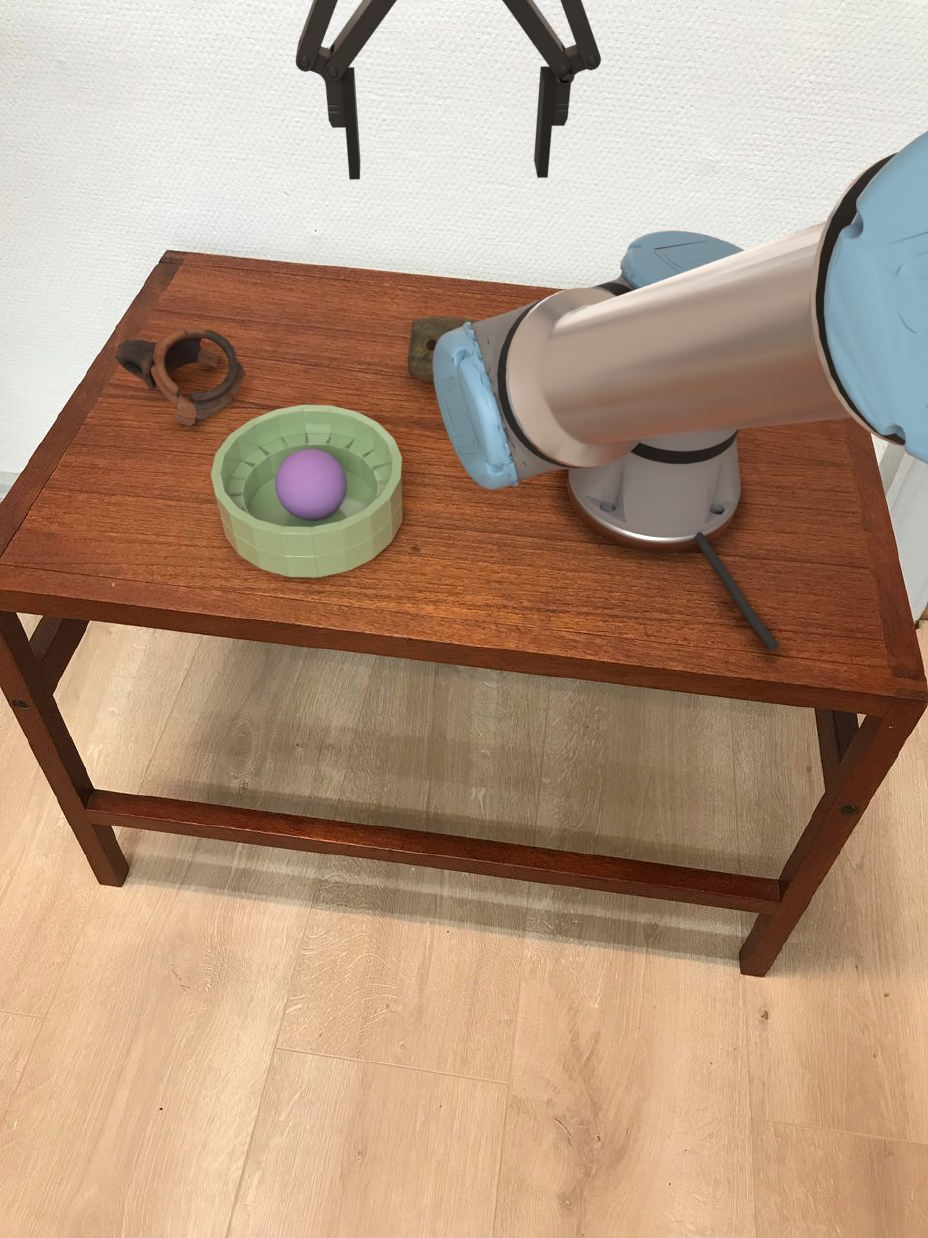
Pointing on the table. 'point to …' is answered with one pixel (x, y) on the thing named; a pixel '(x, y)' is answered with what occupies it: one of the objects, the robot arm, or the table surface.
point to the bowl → (299, 543)
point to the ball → (310, 484)
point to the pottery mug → (177, 352)
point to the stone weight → (428, 343)
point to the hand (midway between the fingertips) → (448, 170)
